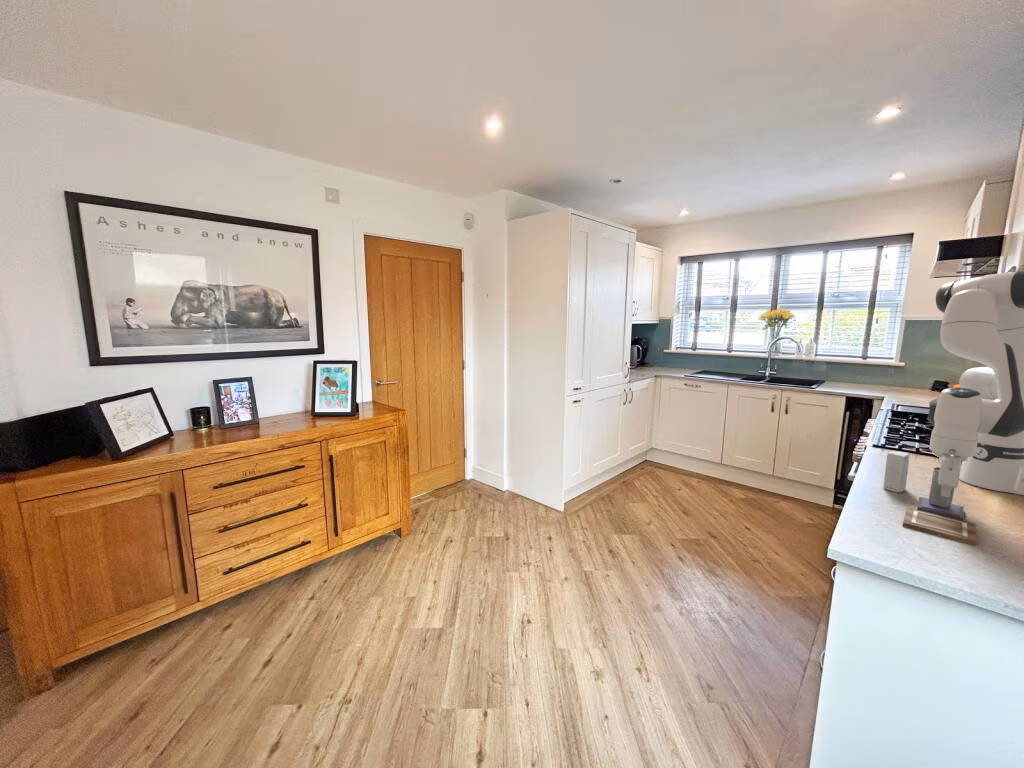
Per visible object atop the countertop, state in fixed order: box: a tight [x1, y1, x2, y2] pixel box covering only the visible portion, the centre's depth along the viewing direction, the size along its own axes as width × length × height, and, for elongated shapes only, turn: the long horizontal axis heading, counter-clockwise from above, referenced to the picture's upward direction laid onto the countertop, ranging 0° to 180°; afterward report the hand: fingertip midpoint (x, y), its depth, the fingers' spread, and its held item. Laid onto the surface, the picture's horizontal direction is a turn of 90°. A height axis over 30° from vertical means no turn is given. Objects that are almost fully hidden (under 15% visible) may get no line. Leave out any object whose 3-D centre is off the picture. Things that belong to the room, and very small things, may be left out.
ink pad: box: [916, 496, 965, 521], centre depth 116 cm, size 10×9×2 cm
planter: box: [928, 467, 955, 508], centre depth 116 cm, size 4×4×10 cm
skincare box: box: [882, 450, 911, 493], centre depth 131 cm, size 6×4×12 cm
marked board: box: [902, 507, 978, 546], centre depth 107 cm, size 13×13×1 cm
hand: (944, 492), depth 116 cm, fingers closed on planter, 4 cm apart
